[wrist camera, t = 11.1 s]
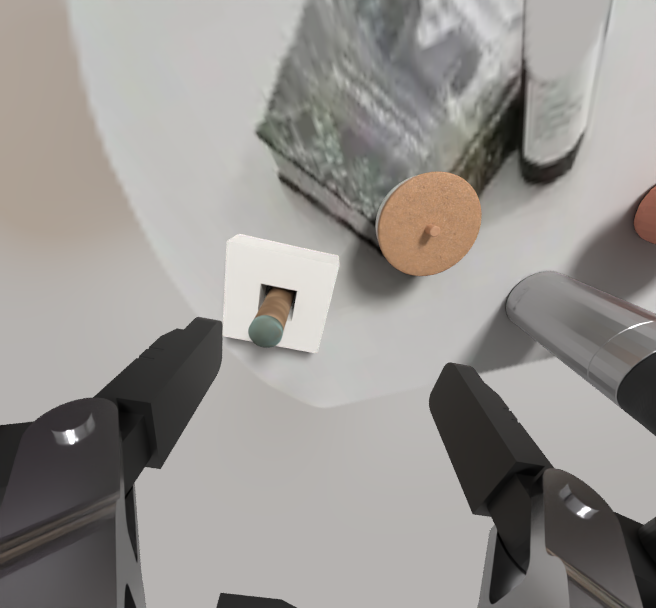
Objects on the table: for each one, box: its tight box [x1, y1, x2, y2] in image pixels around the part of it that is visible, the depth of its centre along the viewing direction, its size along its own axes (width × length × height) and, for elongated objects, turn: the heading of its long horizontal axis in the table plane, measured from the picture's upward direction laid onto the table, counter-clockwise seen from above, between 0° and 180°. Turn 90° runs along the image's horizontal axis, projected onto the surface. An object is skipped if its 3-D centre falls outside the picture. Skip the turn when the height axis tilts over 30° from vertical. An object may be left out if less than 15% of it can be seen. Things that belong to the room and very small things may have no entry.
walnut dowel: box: [248, 286, 295, 347], centre depth 33 cm, size 4×4×12 cm
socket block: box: [222, 234, 339, 353], centre depth 37 cm, size 14×14×4 cm
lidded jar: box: [376, 172, 481, 276], centre depth 30 cm, size 11×11×9 cm
